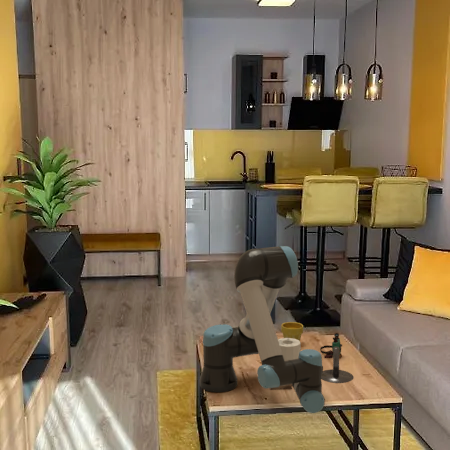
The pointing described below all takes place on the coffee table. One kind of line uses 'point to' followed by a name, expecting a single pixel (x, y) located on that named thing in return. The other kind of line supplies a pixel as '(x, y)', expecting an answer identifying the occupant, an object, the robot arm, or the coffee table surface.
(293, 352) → the towel roll
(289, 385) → the cutting board
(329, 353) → the binoculars
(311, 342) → the coffee table surface
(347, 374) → the disc
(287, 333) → the plant pot
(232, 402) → the coffee table surface
